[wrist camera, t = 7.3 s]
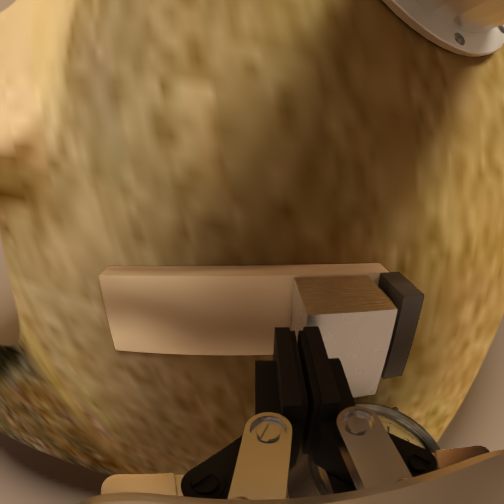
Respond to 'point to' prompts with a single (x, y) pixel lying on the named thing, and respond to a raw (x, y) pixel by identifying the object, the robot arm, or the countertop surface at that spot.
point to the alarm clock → (309, 474)
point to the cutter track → (233, 307)
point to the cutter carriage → (348, 324)
